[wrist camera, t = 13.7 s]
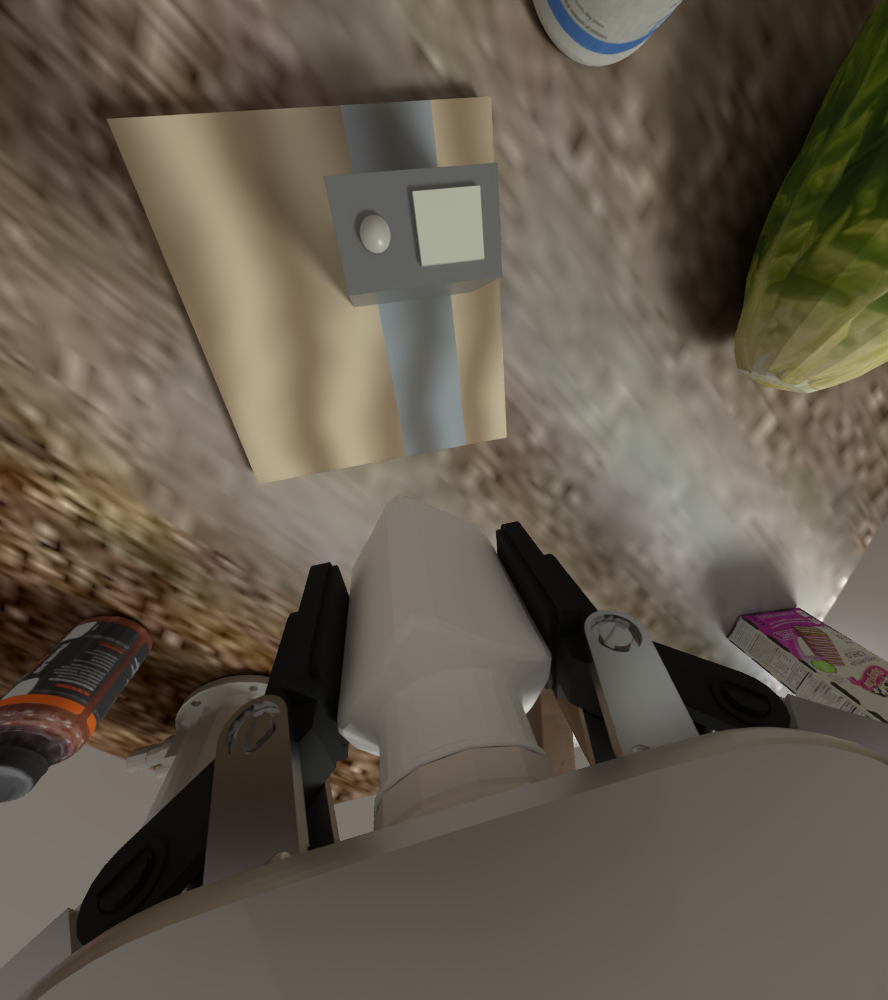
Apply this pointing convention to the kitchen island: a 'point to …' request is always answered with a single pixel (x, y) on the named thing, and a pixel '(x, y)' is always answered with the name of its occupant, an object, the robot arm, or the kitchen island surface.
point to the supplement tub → (601, 26)
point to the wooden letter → (557, 730)
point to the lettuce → (827, 239)
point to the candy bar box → (815, 661)
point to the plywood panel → (317, 281)
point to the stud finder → (417, 231)
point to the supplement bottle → (66, 698)
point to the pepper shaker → (439, 666)
